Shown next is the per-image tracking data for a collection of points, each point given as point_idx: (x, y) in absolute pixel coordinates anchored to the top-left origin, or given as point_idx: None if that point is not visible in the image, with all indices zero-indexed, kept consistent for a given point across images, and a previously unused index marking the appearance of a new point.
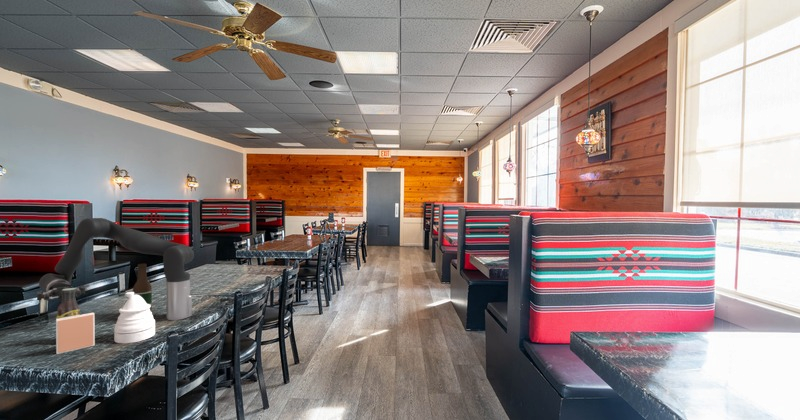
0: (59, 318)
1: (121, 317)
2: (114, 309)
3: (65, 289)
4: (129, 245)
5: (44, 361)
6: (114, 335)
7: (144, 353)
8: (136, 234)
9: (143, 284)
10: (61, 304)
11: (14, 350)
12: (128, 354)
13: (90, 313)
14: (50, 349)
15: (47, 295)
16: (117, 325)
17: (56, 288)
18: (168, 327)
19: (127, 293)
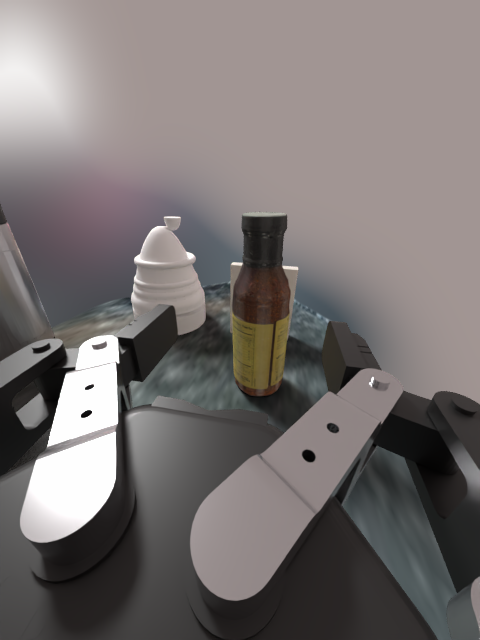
0: (292, 269)
1: (194, 272)
2: None
3: (275, 213)
4: None
5: (305, 324)
6: (202, 313)
7: (212, 284)
8: None
9: None
10: (283, 270)
11: None
12: (223, 289)
13: (238, 263)
14: (295, 360)
15: (342, 323)
16: (200, 289)
17: (255, 465)
18: (110, 316)
19: (179, 217)
